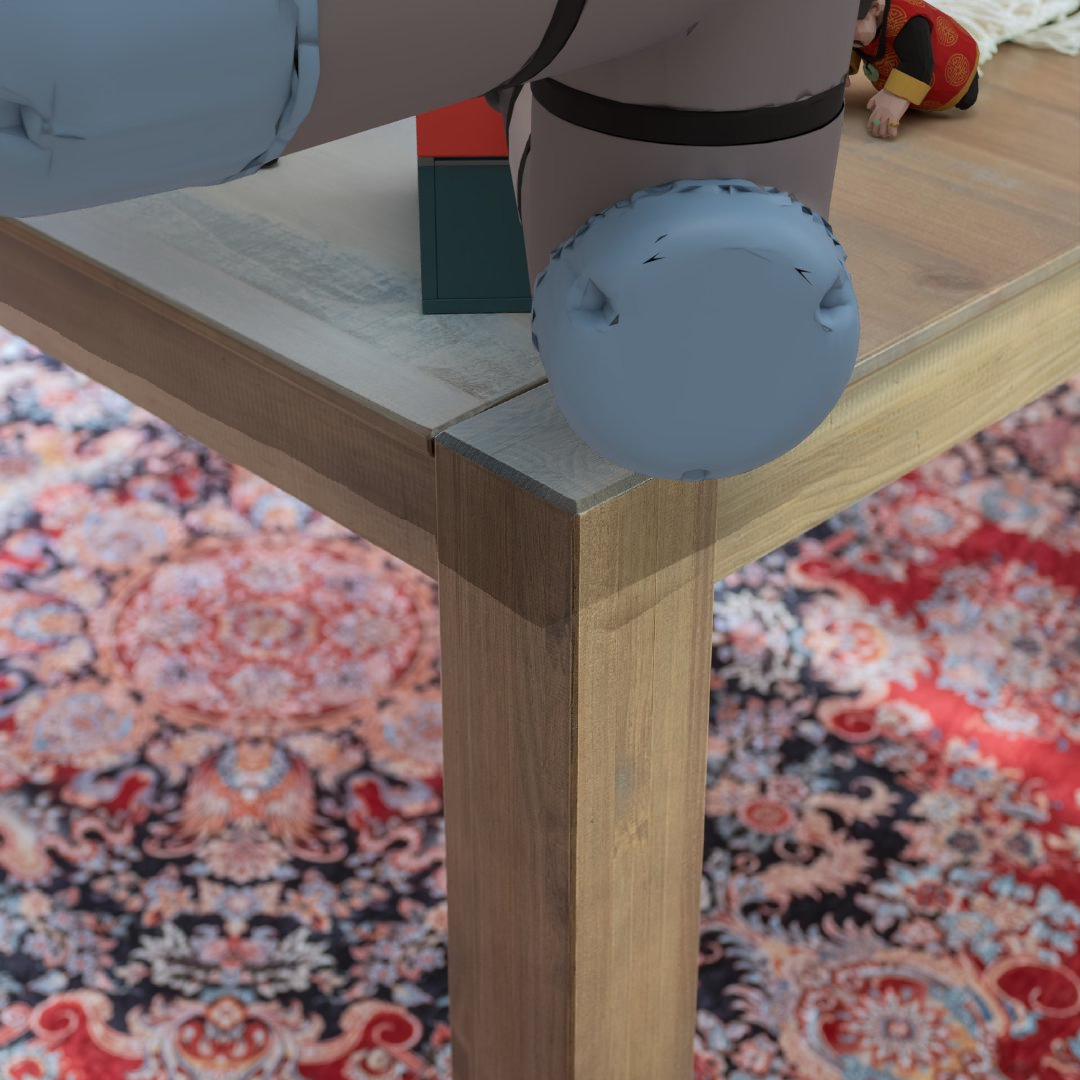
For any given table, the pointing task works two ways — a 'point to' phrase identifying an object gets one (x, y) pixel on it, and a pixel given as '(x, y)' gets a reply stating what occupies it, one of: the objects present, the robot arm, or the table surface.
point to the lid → (461, 131)
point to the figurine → (912, 60)
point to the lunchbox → (470, 237)
